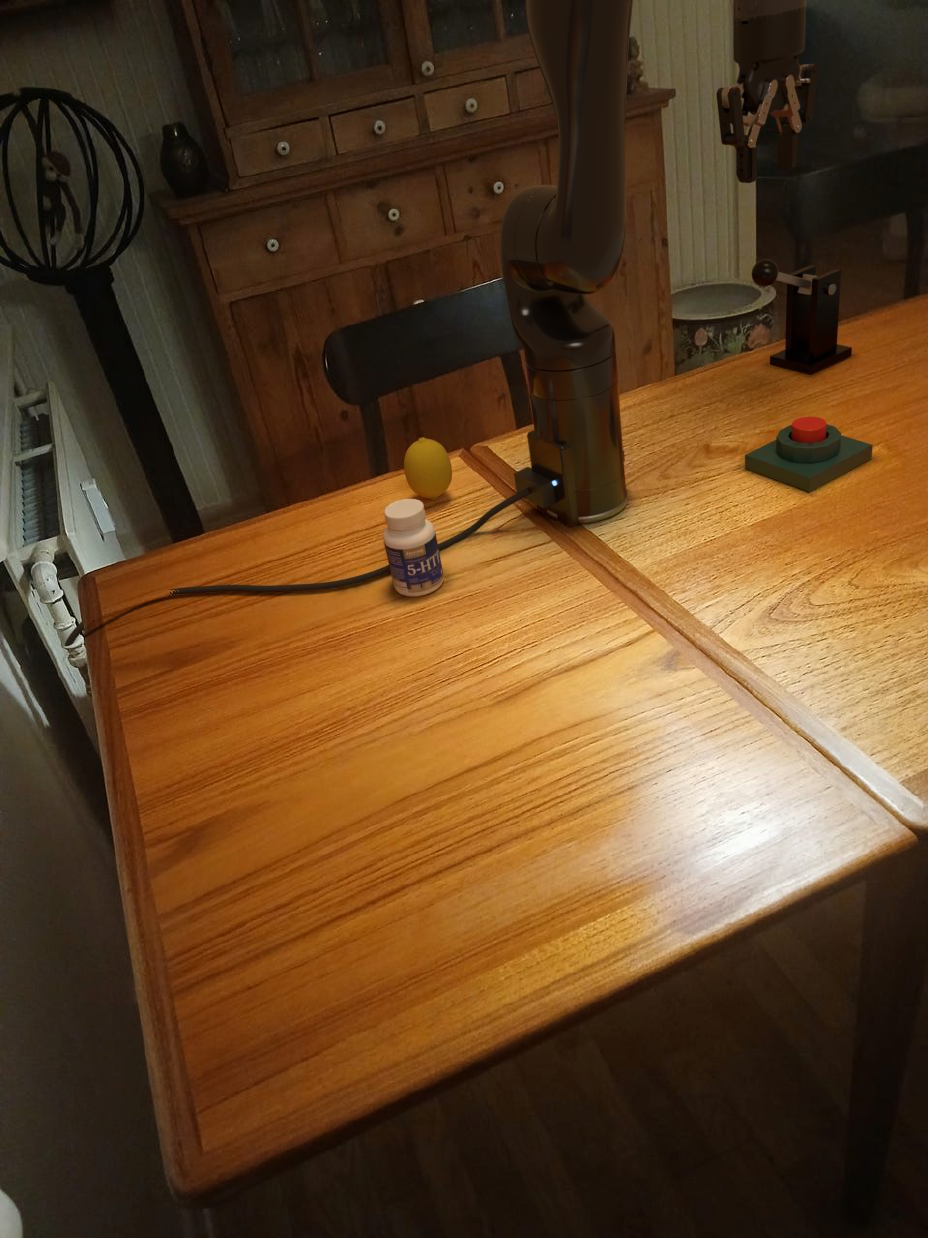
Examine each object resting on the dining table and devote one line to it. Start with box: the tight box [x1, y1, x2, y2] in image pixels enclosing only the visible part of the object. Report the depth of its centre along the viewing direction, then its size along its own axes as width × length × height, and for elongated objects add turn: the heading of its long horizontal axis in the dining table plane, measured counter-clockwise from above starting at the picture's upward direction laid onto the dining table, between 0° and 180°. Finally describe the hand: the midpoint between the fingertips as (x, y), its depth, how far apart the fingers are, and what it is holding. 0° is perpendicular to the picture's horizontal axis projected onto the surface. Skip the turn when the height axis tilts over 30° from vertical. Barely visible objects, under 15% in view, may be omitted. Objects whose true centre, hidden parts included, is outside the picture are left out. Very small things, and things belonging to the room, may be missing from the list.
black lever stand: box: [769, 265, 853, 375], centre depth 126 cm, size 8×7×12 cm
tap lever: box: [751, 258, 819, 296], centre depth 121 cm, size 13×3×3 cm, turn 123°
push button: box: [791, 416, 828, 443], centre depth 104 cm, size 4×4×2 cm
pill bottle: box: [382, 498, 445, 597], centre depth 96 cm, size 5×5×9 cm
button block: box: [744, 423, 874, 493], centre depth 105 cm, size 10×9×4 cm
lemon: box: [403, 437, 453, 501], centre depth 111 cm, size 6×6×8 cm
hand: (766, 174), depth 112 cm, fingers open, 6 cm apart
